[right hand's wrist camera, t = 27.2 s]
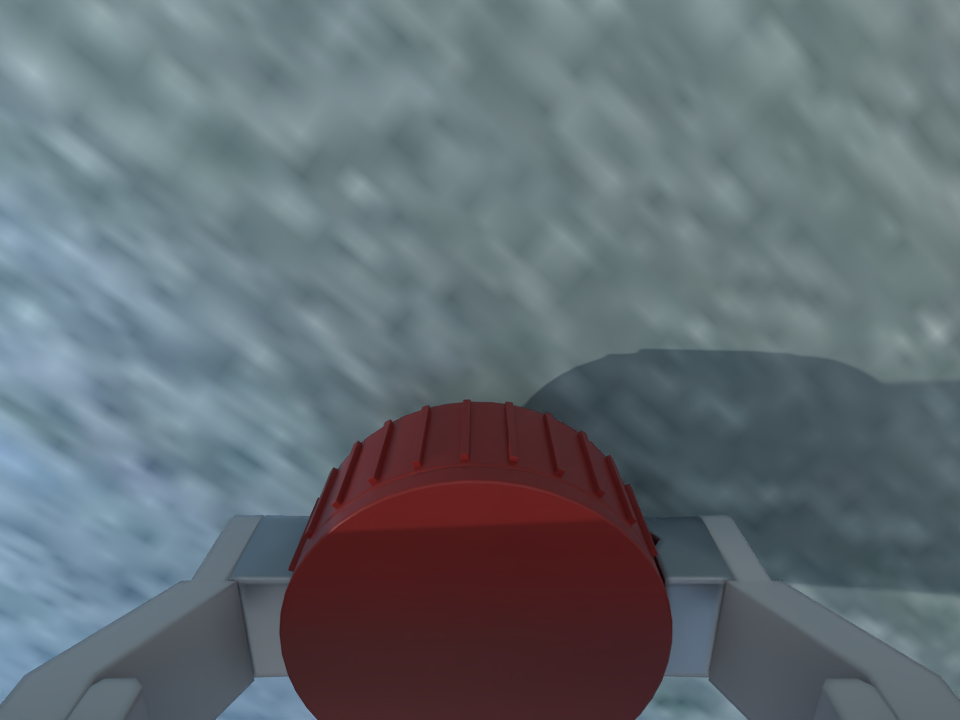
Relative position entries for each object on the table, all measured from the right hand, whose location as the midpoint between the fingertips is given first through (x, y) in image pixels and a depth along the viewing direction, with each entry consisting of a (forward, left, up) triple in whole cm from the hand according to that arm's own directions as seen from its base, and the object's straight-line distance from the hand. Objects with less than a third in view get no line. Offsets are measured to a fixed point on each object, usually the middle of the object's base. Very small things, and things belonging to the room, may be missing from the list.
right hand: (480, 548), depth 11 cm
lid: (0, 0, +2) cm, 2 cm away
